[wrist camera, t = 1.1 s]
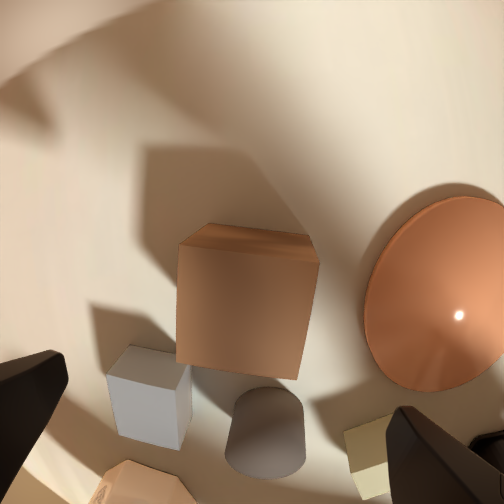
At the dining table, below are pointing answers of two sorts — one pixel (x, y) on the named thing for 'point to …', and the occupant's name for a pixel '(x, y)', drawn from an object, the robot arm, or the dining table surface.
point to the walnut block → (244, 300)
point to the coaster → (439, 296)
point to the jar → (140, 486)
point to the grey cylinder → (267, 434)
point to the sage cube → (369, 457)
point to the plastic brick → (151, 396)
